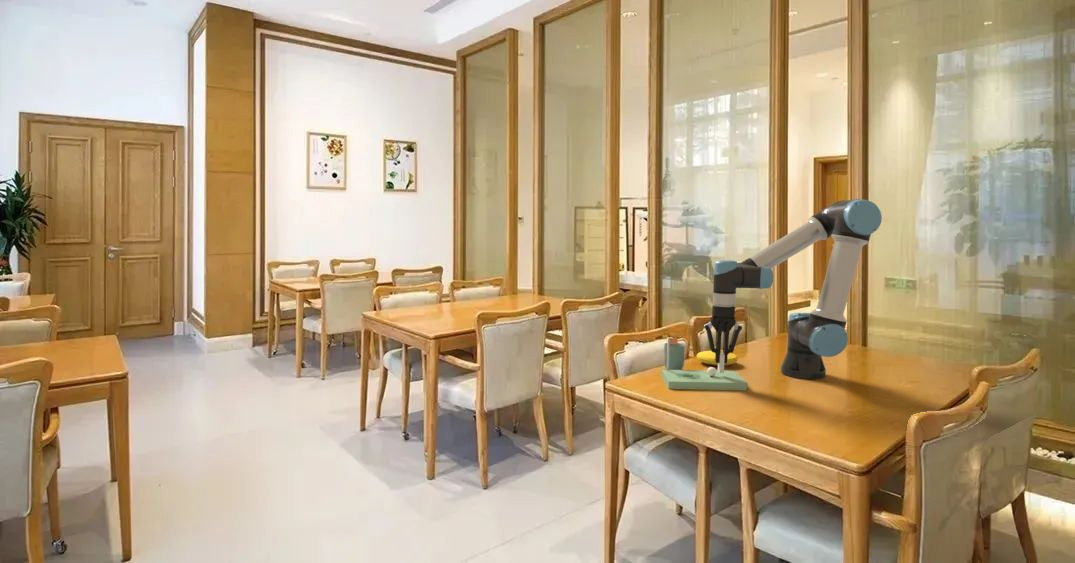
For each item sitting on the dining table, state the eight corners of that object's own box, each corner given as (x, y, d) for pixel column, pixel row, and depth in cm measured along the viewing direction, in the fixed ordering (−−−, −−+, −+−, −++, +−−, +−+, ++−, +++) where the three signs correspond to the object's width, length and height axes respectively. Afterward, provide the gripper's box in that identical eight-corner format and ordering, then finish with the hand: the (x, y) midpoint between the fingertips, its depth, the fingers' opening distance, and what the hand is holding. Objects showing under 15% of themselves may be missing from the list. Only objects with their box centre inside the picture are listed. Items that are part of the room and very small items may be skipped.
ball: (710, 364, 211) (704, 370, 211) (712, 366, 207) (706, 373, 208) (717, 370, 211) (710, 376, 211) (719, 372, 208) (712, 379, 208)
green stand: (734, 377, 217) (735, 338, 216) (746, 390, 201) (748, 347, 200) (661, 376, 218) (662, 337, 217) (668, 388, 203) (669, 346, 201)
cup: (684, 373, 223) (685, 347, 222) (663, 372, 224) (664, 346, 223) (684, 368, 230) (684, 342, 229) (663, 367, 232) (664, 342, 231)
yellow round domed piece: (743, 369, 230) (744, 351, 229) (702, 368, 230) (702, 350, 230) (730, 359, 246) (731, 342, 245) (692, 359, 246) (692, 342, 245)
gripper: (739, 304, 210) (736, 370, 212) (702, 303, 211) (699, 369, 213) (746, 307, 203) (742, 375, 205) (707, 306, 203) (704, 374, 206)
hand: (720, 372), depth 209 cm, fingers closed
